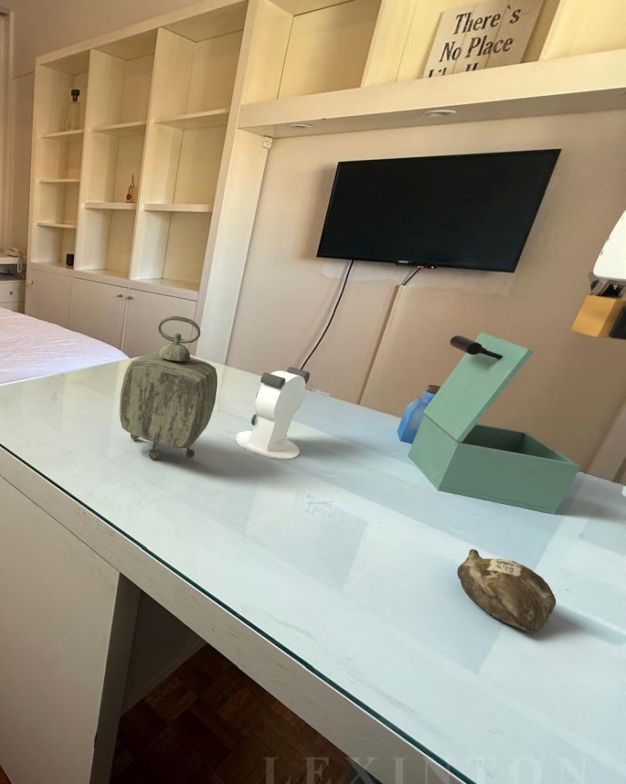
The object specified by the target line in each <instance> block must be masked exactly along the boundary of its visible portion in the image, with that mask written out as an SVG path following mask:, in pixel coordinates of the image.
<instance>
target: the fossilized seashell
mask: <svg viewBox="0 0 626 784" xmlns="http://www.w3.org/2000/svg"><path fill="white" fill-rule="evenodd" d="M456 572H457V573H456V574H457V577H458V579H459V580H460V584H461V587H462V589H463V591H464V593H465V594H466V596H467V597H468V598H469V599H470V600H471V601H472V602H473V603H475V604H476V605H477V606H478V607H479V608H481V609H482V610H483V611H484V612H486V613H487V614H489V615H491V617H494V618H496V619H497V620H500V621H502V623H505V624H508V625H510V626H513V627H515V628H518V629H520V630H523V631H526V632H528V633H535V632H538V631H539V630H541V629H543V627H544V626H545V624H546V623H548V621H549V617H550V616H551V615H552V612H553V611H554V609H555V607H556V604H557V599H556V597H555V594H554V593H553V591H552V589H551V587H550V585H549V583H548V582H546V581H545V579H544V578H543V577H542V576H541V575H539V574H538V573H536V572H535V571H534V570H532V569H531V568H529V567H527V566H525V565H523V564H521V563H519V562H517V561H514V560H511V559H503V558H483V557H482V556H480V553H479V551H478V550H477V549H474V548H471V549H469V552H468V556H467V558H466V559H465V560H464V561H463V562H462V563H460V565H459V566H458V568H457V571H456Z"/></svg>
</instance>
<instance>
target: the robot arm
mask: <svg viewBox="0 0 626 784" xmlns="http://www.w3.org/2000/svg"><path fill="white" fill-rule="evenodd" d="M595 261H596V262H595V264H594V267H593V268H592V270H590V272H588V274H587V275H588V276H587V277H588V279H589V282H590V285H589V286H590V291H591V292H590V293H589V294H588V295H593V296H605V297H616V298H624V295H625V294H626V209H625V210H624V211H623V213H622V215H620V217H619V219H618V220H617V222H616V224H615V225H614V227H613V229H612V230H611V232H610V234H609V236H608V238H607V239H606V241H605V243H604V244H603V247H602V249H601V251H600V253H599V255H598V257H597V260H595ZM615 286H616V288H615ZM609 336H610V337H612V338H619V339H626V307H623V308H622V310H621V312H620V314H619V316H618V318H617V320H616V322H615V324H614V326H613V328H612V330H611V331H610V333H609Z"/></svg>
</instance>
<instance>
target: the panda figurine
mask: <svg viewBox="0 0 626 784" xmlns="http://www.w3.org/2000/svg"><path fill="white" fill-rule="evenodd" d="M310 375H311V373H310V372H309V371H307V370H304V369H300V368H296V367H292V366H289V367H287V368H286V371H285V370H276V371H273V372H271V373H270V372H264V373H263V374H262V375H261V378H260V383H261V386H260V387H259V389H258V391H257V393H256V397H255V403H254V413H255V414H253V416H252V417H251V421H250V423H251V426H253V428H252V430H244V431H240V432H238V433H237V434H236V437H235V439H236V443H238V445H240V447H242V448H244V449H246V450H247V451H249V452H251V453H254V454H256V455H259V456H262V457H266V458H271V459H277V460H291V459H295V458H297V457H298V456H300V448H299V447H298V446H297V445H296V444H295V443H293V442H292V441H290V440H288V439H287V434H288V431H289V428H290V425H291V423H292V420H293V418H294V417H295V415H296V414H297V413H298V412H299V409H300V407H301V405H302V404H303V400H304V397H305V393H306V384H308V382H309V380H310Z"/></svg>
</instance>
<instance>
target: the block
mask: <svg viewBox="0 0 626 784" xmlns="http://www.w3.org/2000/svg"><path fill="white" fill-rule="evenodd" d="M623 307H626V297H622V298H616V297H605V296H593V295H589V294H587V295H586V298H585V300H584V301H583V303H582V306H581V308H580V310H579V311H578V314H577V316H576V317H575V320H574V322H573V324H572V326H571V328H570V331H571V332H576V333H579V334H583V335H586V336H591V337H595V338H600V339H609V340H618V341H626V339H619V338H612V337H610V336H609V333H610V331H611V330H612V328H613V326H614V324H615V322H616V320H617V318H618V316H619V314H620V312H621V310H622V308H623Z"/></svg>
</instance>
